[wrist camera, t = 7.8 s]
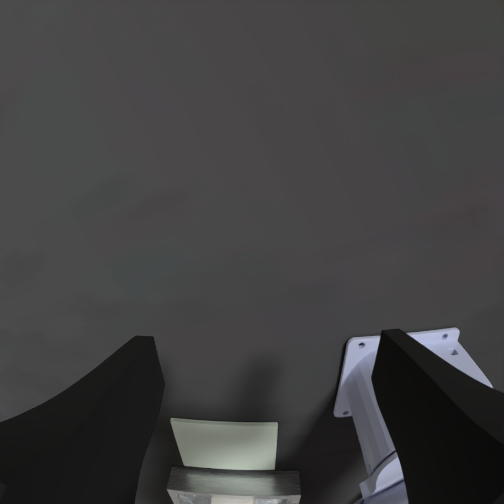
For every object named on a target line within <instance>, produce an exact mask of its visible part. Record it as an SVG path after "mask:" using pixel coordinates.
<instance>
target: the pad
mask: <svg viewBox="0 0 504 504" xmlns="http://www.w3.org/2000/svg"><path fill="white" fill-rule="evenodd" d="M170 422H171V425H172V429H173V432H174V435H175V439H176V442H177V445H178V448H179V451H180V455H181V458H182V461H183V464H184V466H194V467H205V468H219V469H241V470H275V459H276V445H277V430H278V422H223V421H205V420H191V419H180V418H171V420H170Z"/></svg>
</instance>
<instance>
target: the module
mask: <svg viewBox="0 0 504 504" xmlns="http://www.w3.org/2000/svg"><path fill="white" fill-rule="evenodd" d="M211 504H257V499H229V498H213V497H212V498H211Z"/></svg>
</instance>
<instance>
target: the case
mask: <svg viewBox="0 0 504 504" xmlns="http://www.w3.org/2000/svg"><path fill="white" fill-rule="evenodd" d="M167 491H168V493H169V495H170V497H171V499H172V501H173V503H174V504H211V498H212V497H213V498H229V499H257V504H299V501H300V497H301V489H300V477H299V470H291V471H231V470H213V469H201V468H190V467H181V466H173V465H172V468H171V473H170V477H169V481H168V485H167Z"/></svg>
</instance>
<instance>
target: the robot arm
mask: <svg viewBox="0 0 504 504" xmlns="http://www.w3.org/2000/svg"><path fill="white" fill-rule="evenodd" d="M459 333H460V332H459V330H458V329H457V328H448V329H440V330H432V331H423V332H414V333H405V332H403V331H402V330H400V329H390V330H382V331H381V336H368V337H354V338H351V339H349V340H348V342H347V345H346V351H345V356H344V362H343V367H342V372H341V378H340V383H339V388H338V392H337V397H336V402H335V406H334V411H333V413H334V416H335V417H347V416H352V417H353V421H354V424H355V428H356V431H357V435H358V439H359V442H360V446H361V450H362V454H363V457H364V461H365V465H366V469H367V473H368V477H369V478H368V479H367V480H365V481H364V482H362V483H360V489H361V493H362V498H360V499H359V500H357V501H356V502H355V503H354V504H504V393H502V392H500V391H497V390H495V389H493V387H492V385H491V383H490V382H489V381H488V379H487V378H486V377H485V375H484V374H483V373H482V371H481V370H480V369H479V367H478V366H477V365H476V364H475V362H474V361H473V360H472V359H471V357H470V356H469V355H468V354H467V352H466V351H465V350H464V349H463V347H462V346H461V345H460V344H459V343H458V341H457V340H458V337H459ZM444 334H445V335H444ZM443 335H444V336H443ZM442 336H443V337H442ZM360 343H363V344H362V345H360V346H359V344H360ZM164 386H165V382H164V378H163V375H162V371H161V367H160V363H159V359H158V354H157V350H156V346H155V341H154V337H153V336H135V337H133V338H132V339H131V340H129V341H128V342H127V343H126V344H124V345H123V346H122V347H121V348H119V349H118V350H117V351H116V352H115V353H113V354H112V355H111V356H110V357H108V358H107V359H106V360H105V361H104V362H102V363H101V364H100V365H99V366H97V367H96V368H95V369H94V370H92V371H91V372H90V373H88V374H87V375H86V376H84V377H83V378H81V379H80V380H79V381H77V382H76V383H75V384H73V385H72V386H70V387H69V388H68V389H66V390H65V391H63V392H61V393H60V394H58V395H57V396H55V397H53V398H51V399H50V400H48V401H46V402H45V403H43V404H41V405H39V406H37V407H35V408H33V409H31V410H28V411H26V412H24V413H22V414H20V415H18V416H16V417H13V418H11V419H8V420H5V421H3V422H0V504H134V503H135V496H136V490H137V485H138V479H139V474H140V470H141V466H142V462H143V459H144V456H145V453H146V450H147V447H148V444H149V441H150V438H151V435H152V432H153V429H154V426H155V423H156V420H157V417H158V414H159V411H160V407H161V402H162V397H163V391H164ZM345 411H346V412H345Z"/></svg>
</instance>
